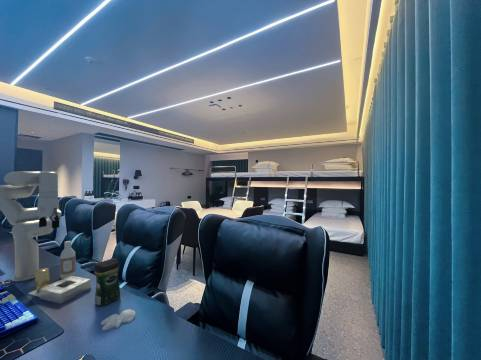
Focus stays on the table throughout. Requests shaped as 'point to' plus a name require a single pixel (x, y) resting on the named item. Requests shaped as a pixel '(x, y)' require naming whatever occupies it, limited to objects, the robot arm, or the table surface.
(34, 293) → the mat
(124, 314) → the astronaut figurine
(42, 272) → the end cover
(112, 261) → the coffee jar
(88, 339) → the table surface
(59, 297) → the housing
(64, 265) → the bath foam
